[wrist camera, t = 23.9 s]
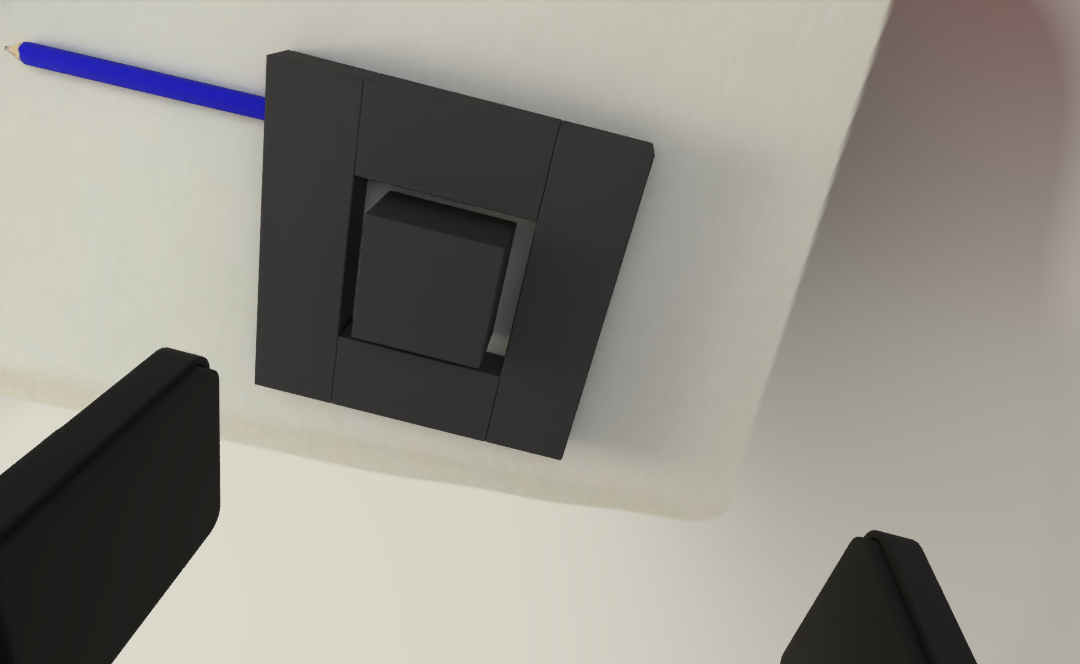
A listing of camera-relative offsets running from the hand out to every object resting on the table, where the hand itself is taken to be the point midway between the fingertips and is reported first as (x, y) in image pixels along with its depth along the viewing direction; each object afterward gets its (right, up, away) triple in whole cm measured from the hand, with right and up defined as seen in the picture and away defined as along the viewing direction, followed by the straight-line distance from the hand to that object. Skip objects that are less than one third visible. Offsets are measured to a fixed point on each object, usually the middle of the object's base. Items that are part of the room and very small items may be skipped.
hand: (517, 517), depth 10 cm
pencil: (-15, +14, +21) cm, 29 cm away
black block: (-4, +6, +23) cm, 24 cm away
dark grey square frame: (-4, +6, +23) cm, 24 cm away
